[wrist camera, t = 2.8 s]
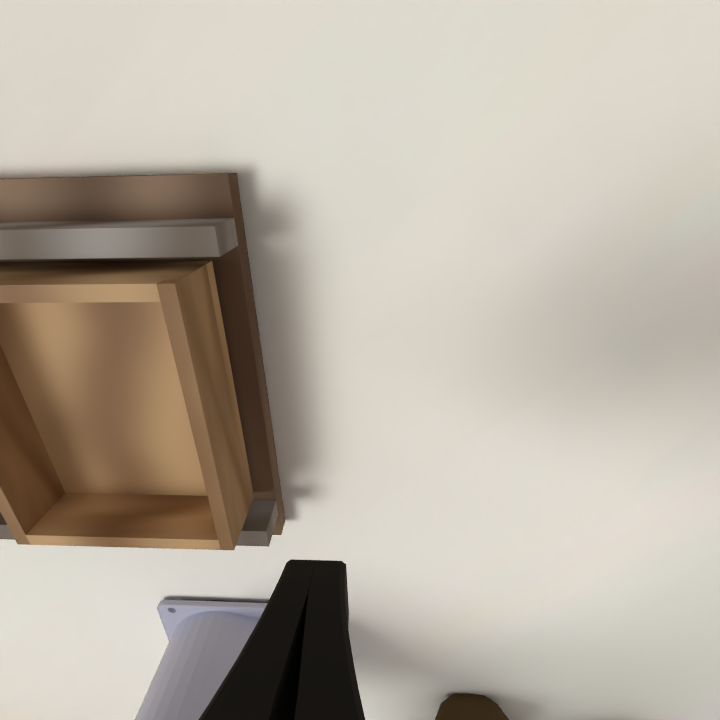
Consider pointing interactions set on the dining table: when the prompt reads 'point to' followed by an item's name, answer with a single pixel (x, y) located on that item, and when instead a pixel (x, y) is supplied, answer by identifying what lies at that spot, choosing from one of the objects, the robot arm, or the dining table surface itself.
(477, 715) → the brown knobbed bar
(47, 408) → the box
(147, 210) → the bay
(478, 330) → the dining table surface
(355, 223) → the dining table surface
